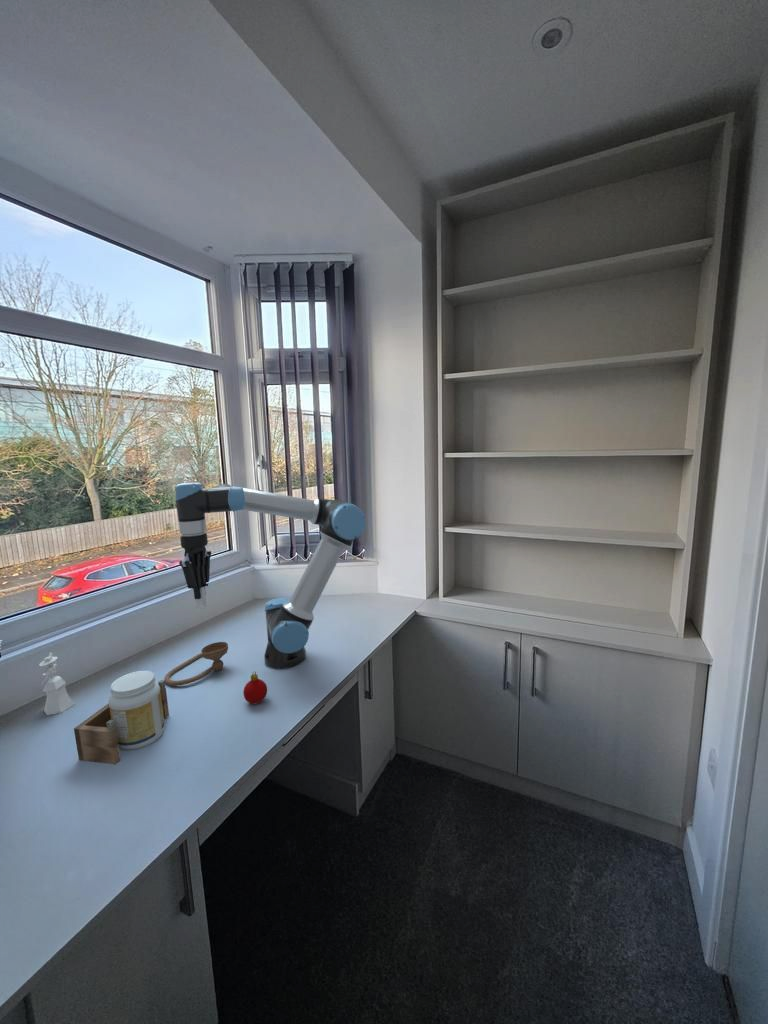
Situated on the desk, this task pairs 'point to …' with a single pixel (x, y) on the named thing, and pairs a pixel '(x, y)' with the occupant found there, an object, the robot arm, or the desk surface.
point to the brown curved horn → (208, 652)
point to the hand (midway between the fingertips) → (201, 607)
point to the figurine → (54, 688)
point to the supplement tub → (136, 709)
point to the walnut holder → (104, 734)
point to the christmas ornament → (255, 690)
